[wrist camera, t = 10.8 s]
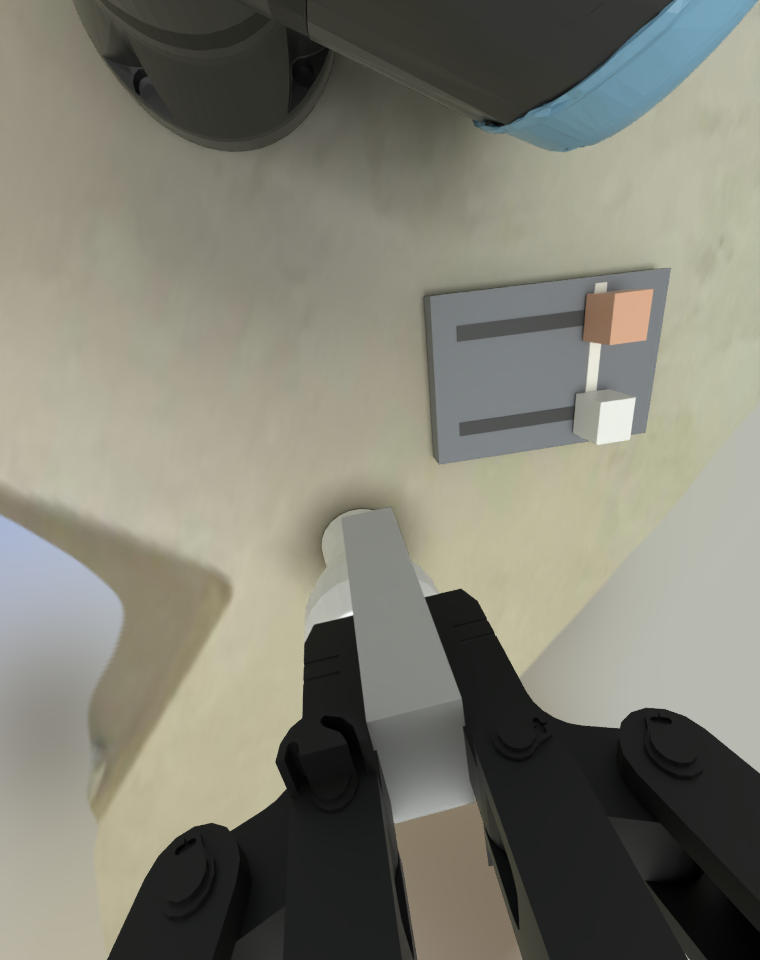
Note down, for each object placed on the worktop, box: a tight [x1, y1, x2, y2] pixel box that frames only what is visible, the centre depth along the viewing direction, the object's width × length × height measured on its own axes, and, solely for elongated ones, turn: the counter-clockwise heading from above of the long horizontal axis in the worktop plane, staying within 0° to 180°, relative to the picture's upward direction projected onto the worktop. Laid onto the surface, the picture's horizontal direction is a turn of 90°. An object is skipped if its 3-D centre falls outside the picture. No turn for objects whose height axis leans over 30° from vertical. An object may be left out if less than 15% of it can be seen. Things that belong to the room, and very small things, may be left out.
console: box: [424, 268, 671, 465], centre depth 37 cm, size 14×20×2 cm
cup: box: [304, 509, 439, 641], centre depth 36 cm, size 11×11×15 cm
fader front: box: [583, 289, 654, 345], centre depth 33 cm, size 4×3×4 cm
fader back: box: [573, 389, 636, 445], centre depth 36 cm, size 4×3×4 cm
